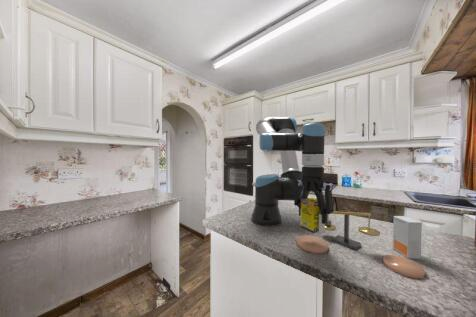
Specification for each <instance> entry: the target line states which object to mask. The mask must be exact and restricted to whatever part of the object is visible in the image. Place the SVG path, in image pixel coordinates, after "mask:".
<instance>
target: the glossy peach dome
mask: <svg viewBox="0 0 476 317" xmlns="http://www.w3.org/2000/svg"><path fill="white" fill-rule="evenodd" d="M382 264H383V265H384V266H385V267H386V268H388V269H389V270H390V271H391V272H393V273H396V274H399V275H401V276H404V277H407V278H412V279H424V278H425V276H426V269H425V268H424V267H423V266H422V265H421V264H420V263H417V262H415V261H414V260H411V259H410V258H407V257H405V256H404V257H403V256H400V255H394V254H386V255H384V256H382Z"/></svg>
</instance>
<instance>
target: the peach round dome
mask: <svg viewBox="0 0 476 317" xmlns="http://www.w3.org/2000/svg"><path fill="white" fill-rule="evenodd" d="M295 244H296V246H297V247H298V248H299V249H301V250H302V251H304V252H307V253H311V254H318V255H319V254H326V253H327V252H328V251H329V246H330V245H329V243H328V242H327V241H326V239H325V240H324V239H323V238H321V237H319V236H315V235H309V234H308V235H307V234H304V235H299V236H297V237H296V240H295Z"/></svg>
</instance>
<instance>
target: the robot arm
mask: <svg viewBox="0 0 476 317" xmlns="http://www.w3.org/2000/svg"><path fill="white" fill-rule="evenodd" d="M297 126H298V125H297V120H296V118H294V117H293V116H287V115H286V116H266V117H263V118H261V119H260V120H258V122H257V123H256V125H255V130H256V133H257V134H258V135H259V143H258V144H259V145H258V146H259V149H260V150H261V151H265V152H279V154H280V160H281V169H282V172H281V174H280V176H279V174H278V173H277V174H276V173H273V174H272V173H271V174H270V173H269V174H263V175H258V176H257V177H256V178H255V183H254V184H255V185H254V187H255V188H254V189H255V192H254V193H255V194H254V195H255V196H254V199H255V200H254V208H253V211H252V214H251V221H252V222H253V224H255V225H259V226H261V227H275V226H278V225H281V224H282V222H283V219H282V215H281V211H280V207H279V201H293V202H294V206H297V207H298V217H300V218H299V219H300V222H299V223H300V227H301V199H305V198H309V195H310V193H311V192H312V193H314V195H315V197H316V198H317V201H318V204H319V207H320V211H321V213H320V214H319V232H318V233H319V234H323V233H324V232H326V230H325V224H326V223H327V215H328V214H329V215H332V214H331V213H333V211H334V202H333V188H334V185H333V184H331V183H330V184H328V183H326V182H325V179H324V178H325V168H324V165H325V135H326V133H325V126H324V124H323V123H322V122H321V123H320V122H317V123H316V122H314V123H313V122H311V123H306V124H303V125H302V127H301V132H297V130H298V128H297ZM296 152H301V165H302V167H301V170H300V168H299V162H298V158H297V153H296ZM323 189H324V192H323ZM323 193H324V195H323ZM324 196H325V197H324Z"/></svg>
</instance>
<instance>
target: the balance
mask: <svg viewBox="0 0 476 317" xmlns="http://www.w3.org/2000/svg"><path fill="white" fill-rule="evenodd" d="M330 215H344V218H343V219H344V223H343V224H344V226H343V232H344V233H343V236H342V235H338V234H337V235H336V236H334V237H333V238H331V241H332V242H334V243H337V244H339V245H342V246H344V247H345V248H346V247H347V248H349V249H352V250H354V251H357V250H358V249H359V248H361V246H362V243H361V242H360V241H356V240H353V239H351V238H350V216H362V217H364V216H365V217H368V220H367V221H368V226H359V227H358V231H359V232H360V233H361V234H364V235H367V236H371V237H379V236H380V235H381V232H380V231H379V230H378V229H376V228H373V227H370V226H371V224H370V223H371V222H370V221H371V216H372V213H370V212H353V211H337V210H335V211H334V210H333V213H331V214H328V215H327V223H326V224H325V231H336V230H337V226H336V225H334V224H332V221H331V220H330V219H329V216H330Z"/></svg>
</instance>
